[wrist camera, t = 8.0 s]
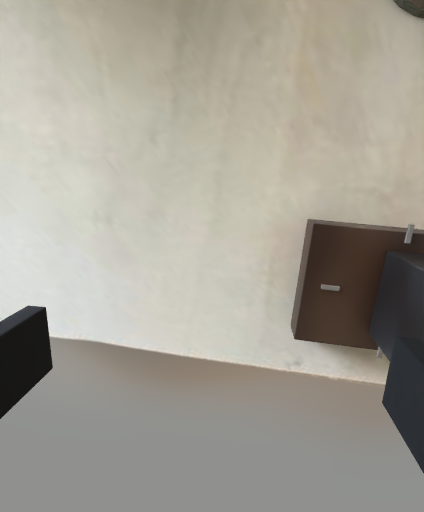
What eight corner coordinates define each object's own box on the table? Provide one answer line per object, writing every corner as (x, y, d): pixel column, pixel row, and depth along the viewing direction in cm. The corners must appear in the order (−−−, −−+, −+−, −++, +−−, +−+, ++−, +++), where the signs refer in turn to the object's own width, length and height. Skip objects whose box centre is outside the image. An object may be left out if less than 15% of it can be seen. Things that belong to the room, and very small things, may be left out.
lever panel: (289, 331, 29) (293, 346, 26) (308, 211, 26) (315, 215, 23) (448, 352, 27) (469, 370, 25) (487, 228, 25) (515, 234, 22)
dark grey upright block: (386, 250, 23) (456, 287, 16) (422, 253, 23) (511, 293, 15) (367, 332, 25) (421, 404, 17) (401, 336, 25) (470, 411, 17)
